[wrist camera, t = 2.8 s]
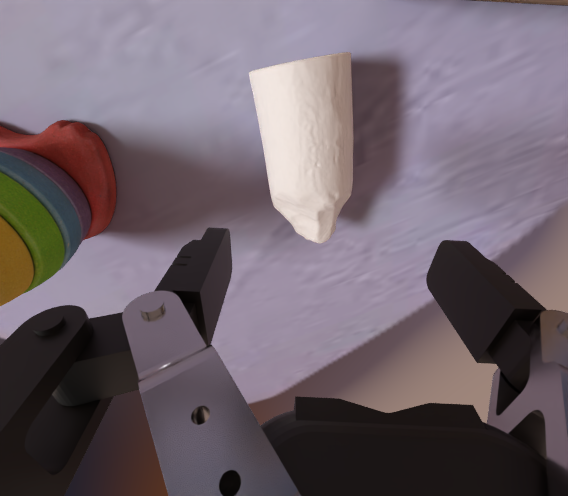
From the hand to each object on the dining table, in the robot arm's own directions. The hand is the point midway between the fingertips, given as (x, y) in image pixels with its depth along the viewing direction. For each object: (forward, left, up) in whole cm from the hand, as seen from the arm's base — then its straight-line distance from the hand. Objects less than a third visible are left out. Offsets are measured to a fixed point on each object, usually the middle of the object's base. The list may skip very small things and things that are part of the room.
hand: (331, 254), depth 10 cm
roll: (-1, 0, -13) cm, 13 cm away
